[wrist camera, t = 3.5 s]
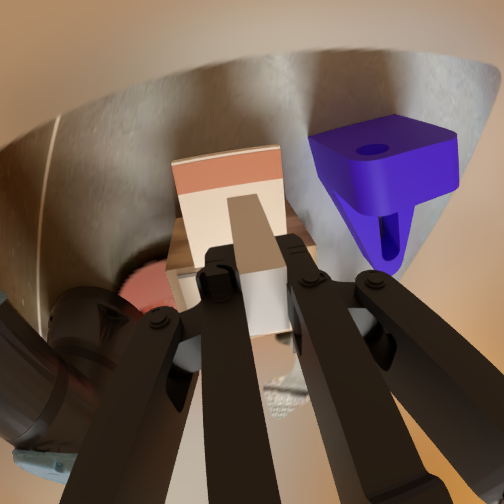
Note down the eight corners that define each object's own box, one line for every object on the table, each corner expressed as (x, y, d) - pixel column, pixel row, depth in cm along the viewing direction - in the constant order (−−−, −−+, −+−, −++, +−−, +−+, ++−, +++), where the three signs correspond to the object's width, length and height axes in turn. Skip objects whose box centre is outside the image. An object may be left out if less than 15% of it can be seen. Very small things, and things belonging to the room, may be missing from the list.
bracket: (307, 136, 29) (358, 165, 19) (394, 114, 29) (466, 135, 19) (338, 272, 39) (377, 335, 28) (408, 244, 38) (458, 295, 28)
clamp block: (193, 285, 36) (192, 354, 27) (175, 218, 32) (164, 277, 22) (291, 269, 37) (318, 332, 28) (286, 200, 32) (320, 250, 23)
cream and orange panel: (195, 262, 23) (195, 268, 22) (172, 160, 19) (171, 163, 18) (285, 247, 24) (288, 252, 23) (277, 144, 19) (280, 146, 19)
